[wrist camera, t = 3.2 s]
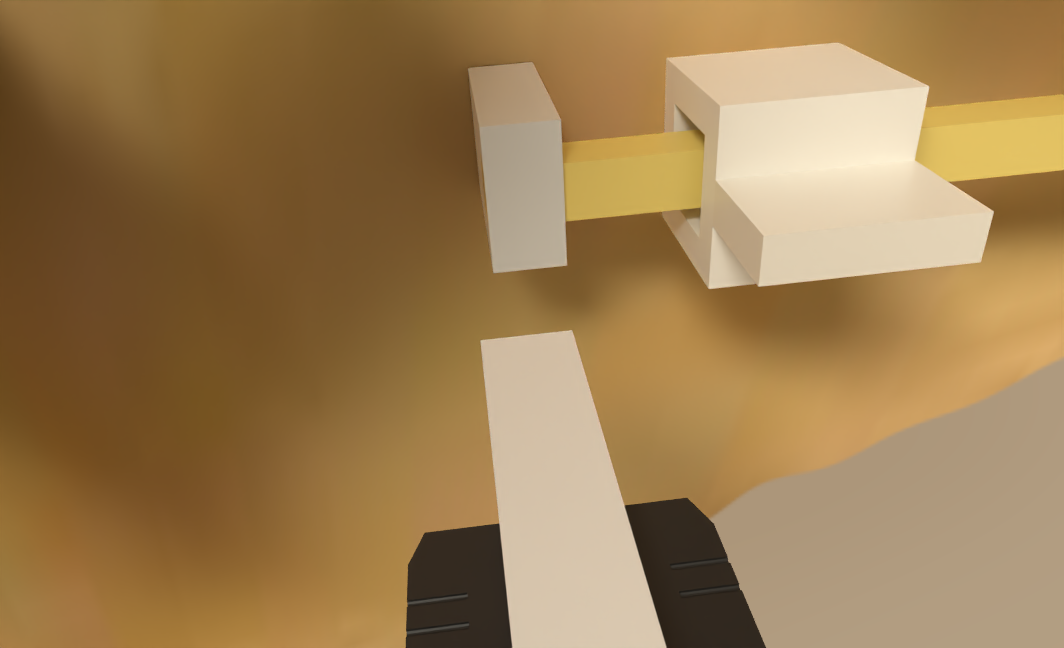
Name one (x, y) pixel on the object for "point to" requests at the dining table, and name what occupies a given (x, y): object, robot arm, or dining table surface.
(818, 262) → the sleeve
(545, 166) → the rail
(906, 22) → the dining table surface
